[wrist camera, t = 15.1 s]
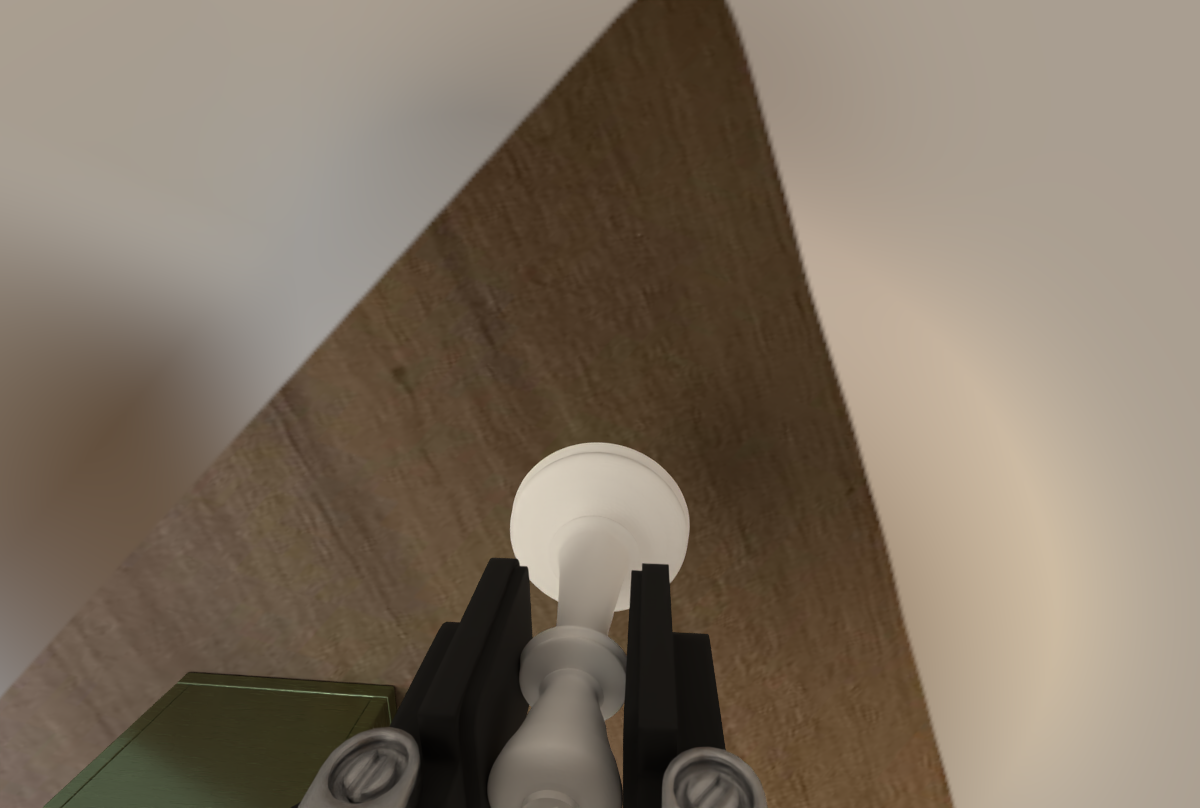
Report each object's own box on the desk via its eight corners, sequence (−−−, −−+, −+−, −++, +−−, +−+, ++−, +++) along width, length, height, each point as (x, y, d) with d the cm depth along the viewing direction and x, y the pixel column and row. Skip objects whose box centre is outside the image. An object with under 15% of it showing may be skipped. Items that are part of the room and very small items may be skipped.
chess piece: (559, 620, 17) (446, 1121, 8) (481, 480, 16) (230, 867, 6) (716, 567, 16) (811, 1066, 7) (645, 414, 15) (638, 754, 5)
